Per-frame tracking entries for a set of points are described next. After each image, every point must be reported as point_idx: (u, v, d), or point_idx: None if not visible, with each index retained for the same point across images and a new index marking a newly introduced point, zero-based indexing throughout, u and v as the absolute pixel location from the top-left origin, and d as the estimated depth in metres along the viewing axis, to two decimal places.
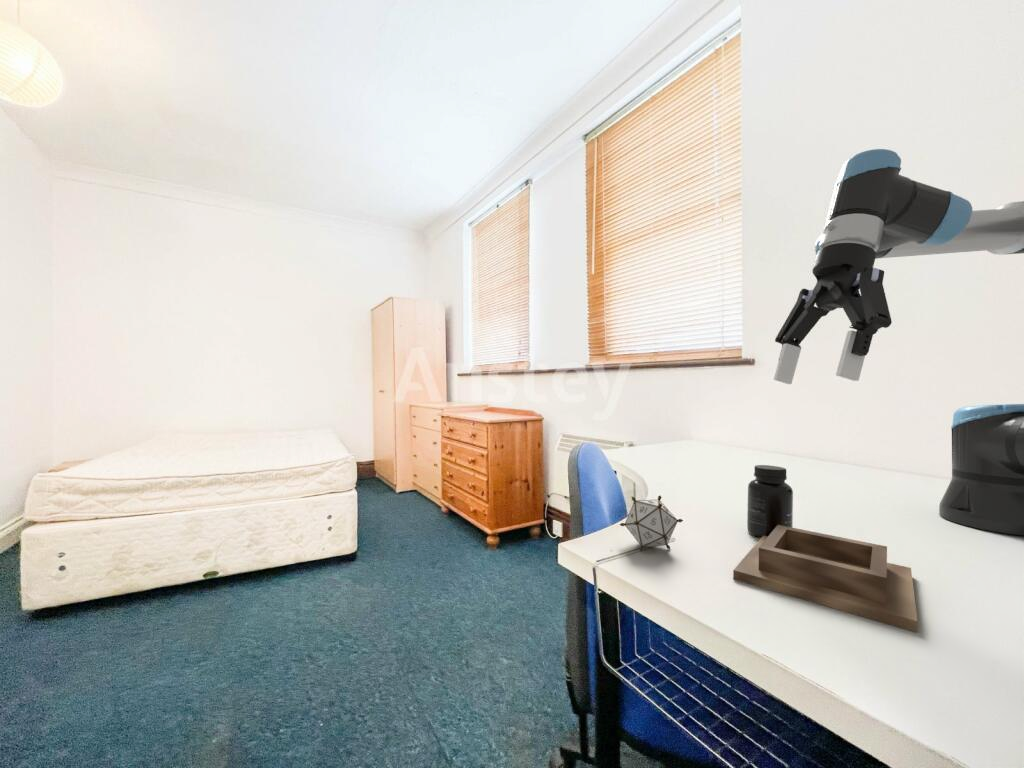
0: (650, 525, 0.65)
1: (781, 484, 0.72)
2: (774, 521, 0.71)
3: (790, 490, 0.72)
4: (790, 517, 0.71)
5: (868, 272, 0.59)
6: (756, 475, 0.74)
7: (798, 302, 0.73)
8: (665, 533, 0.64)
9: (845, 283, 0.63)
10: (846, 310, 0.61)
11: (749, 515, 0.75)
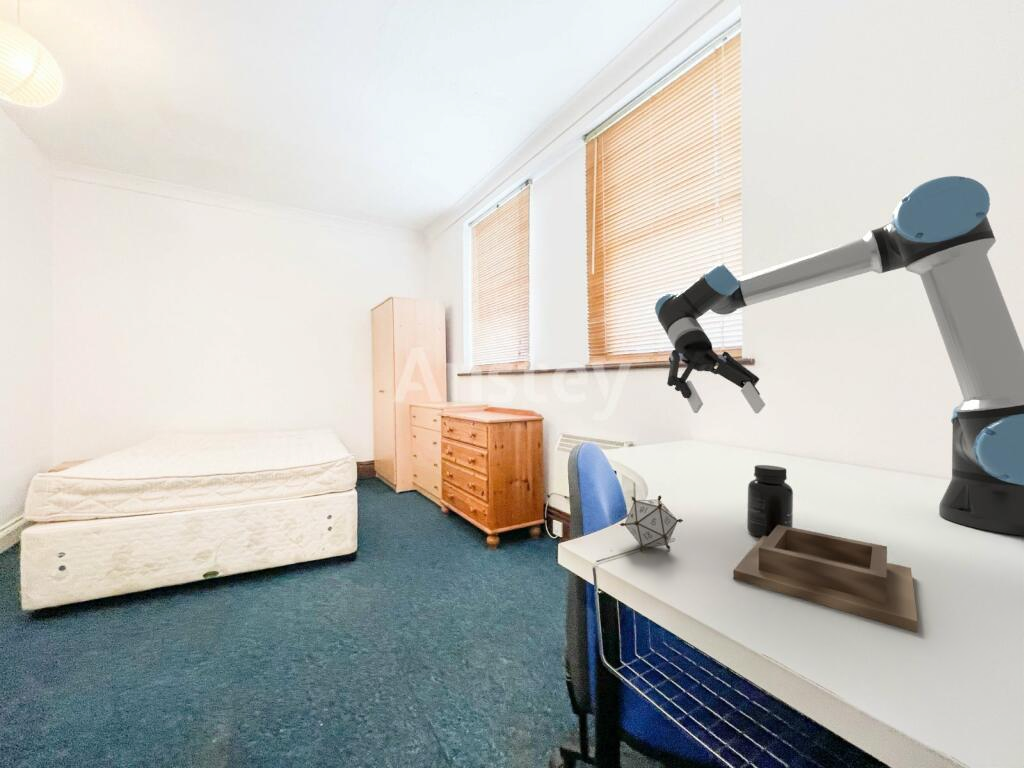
0: (650, 526, 0.65)
1: (781, 484, 0.72)
2: (774, 521, 0.71)
3: (790, 490, 0.72)
4: (790, 517, 0.71)
5: (670, 360, 0.95)
6: (756, 475, 0.74)
7: None
8: (665, 533, 0.64)
9: None
10: None
11: (749, 515, 0.75)
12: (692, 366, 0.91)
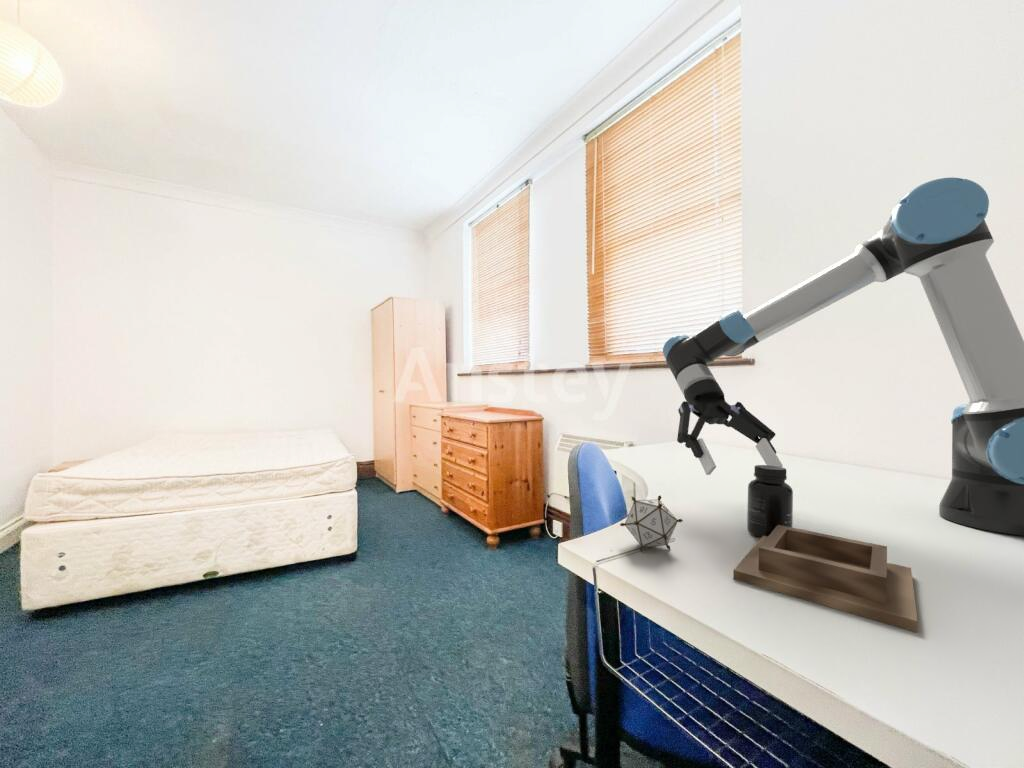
0: (650, 525, 0.65)
1: (781, 484, 0.72)
2: (774, 521, 0.71)
3: (790, 490, 0.72)
4: (790, 517, 0.71)
5: (679, 412, 0.90)
6: (756, 475, 0.74)
7: None
8: (665, 533, 0.64)
9: None
10: None
11: (749, 515, 0.75)
12: (703, 420, 0.86)
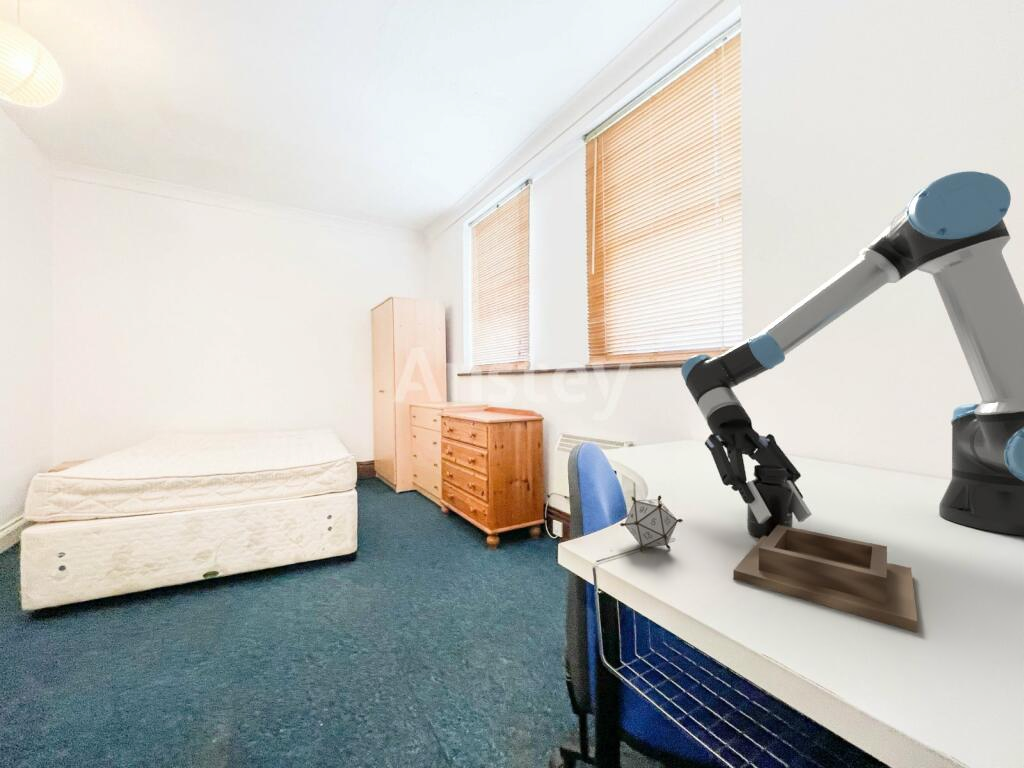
0: (650, 525, 0.65)
1: (781, 484, 0.72)
2: (774, 520, 0.71)
3: (790, 490, 0.72)
4: (790, 517, 0.71)
5: (708, 446, 0.81)
6: (756, 475, 0.74)
7: (767, 451, 0.83)
8: (665, 533, 0.64)
9: None
10: None
11: (749, 515, 0.75)
12: (740, 455, 0.78)
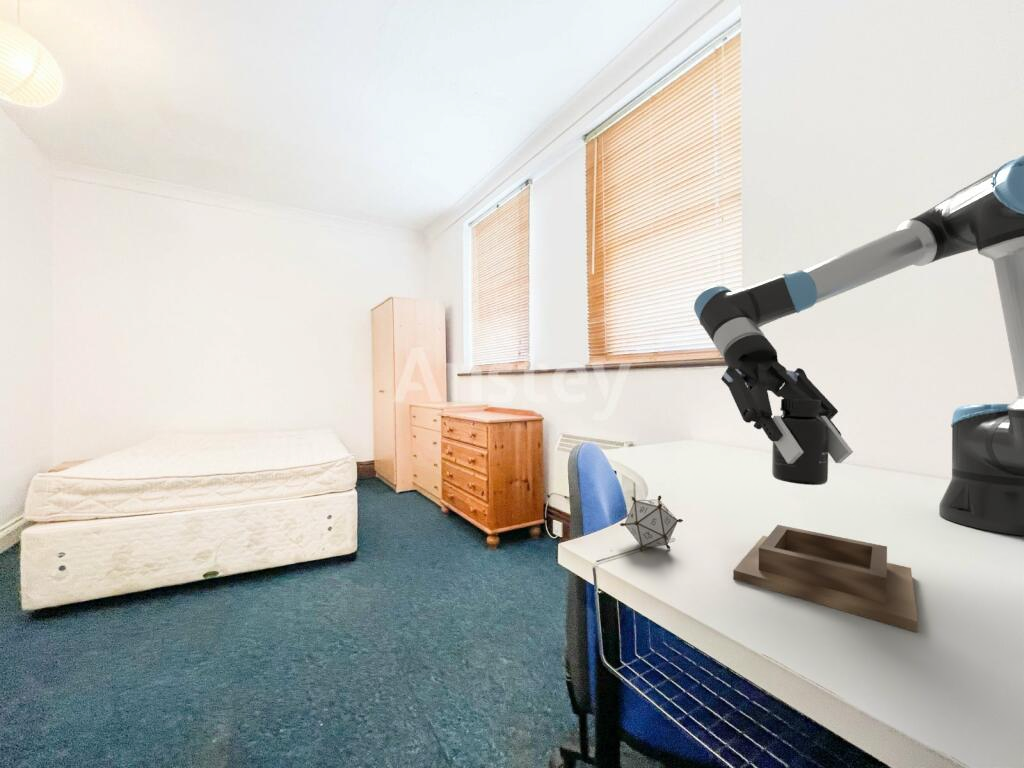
0: (650, 526, 0.65)
1: (814, 418, 0.60)
2: (806, 460, 0.59)
3: (825, 424, 0.59)
4: (825, 456, 0.59)
5: (725, 381, 0.69)
6: (783, 409, 0.62)
7: None
8: (665, 533, 0.64)
9: None
10: None
11: (775, 457, 0.62)
12: (764, 389, 0.66)
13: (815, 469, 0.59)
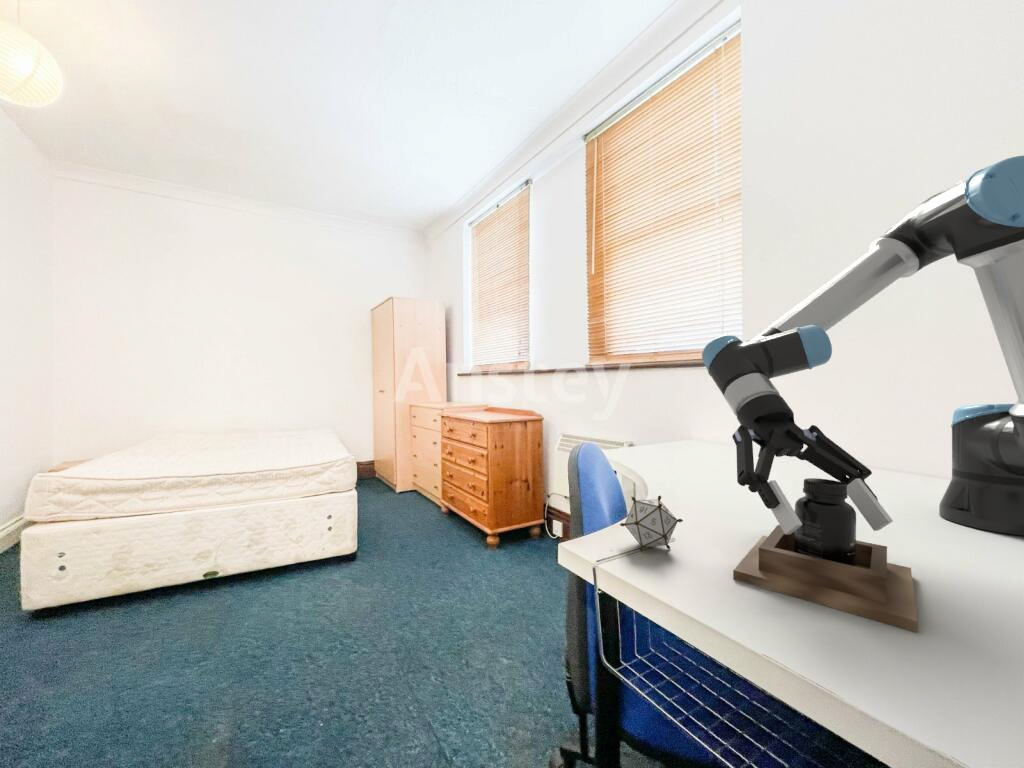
0: (650, 525, 0.65)
1: (842, 505, 0.56)
2: (834, 552, 0.55)
3: (853, 512, 0.55)
4: (854, 547, 0.55)
5: (735, 439, 0.66)
6: (807, 492, 0.58)
7: None
8: (665, 533, 0.64)
9: None
10: None
11: (798, 543, 0.58)
12: (772, 453, 0.62)
13: (844, 561, 0.54)
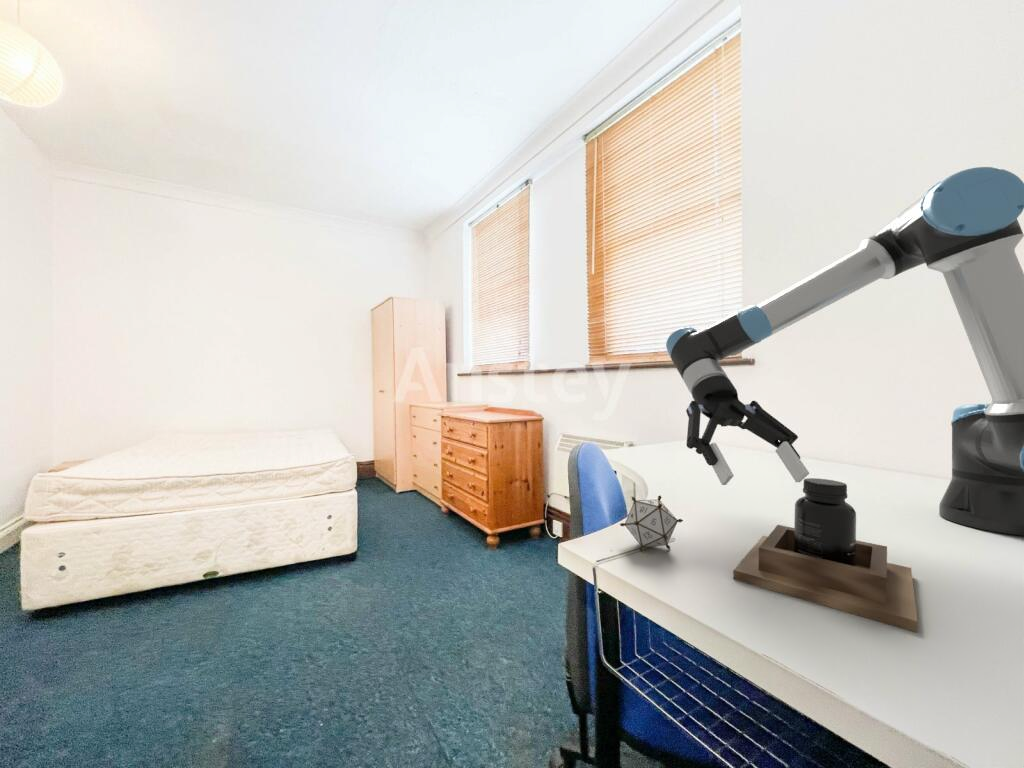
0: (650, 526, 0.65)
1: (841, 505, 0.56)
2: (834, 552, 0.55)
3: (853, 512, 0.55)
4: (854, 547, 0.55)
5: (687, 413, 0.79)
6: (807, 492, 0.58)
7: None
8: (665, 533, 0.64)
9: None
10: None
11: (798, 543, 0.58)
12: (716, 422, 0.75)
13: (844, 561, 0.54)
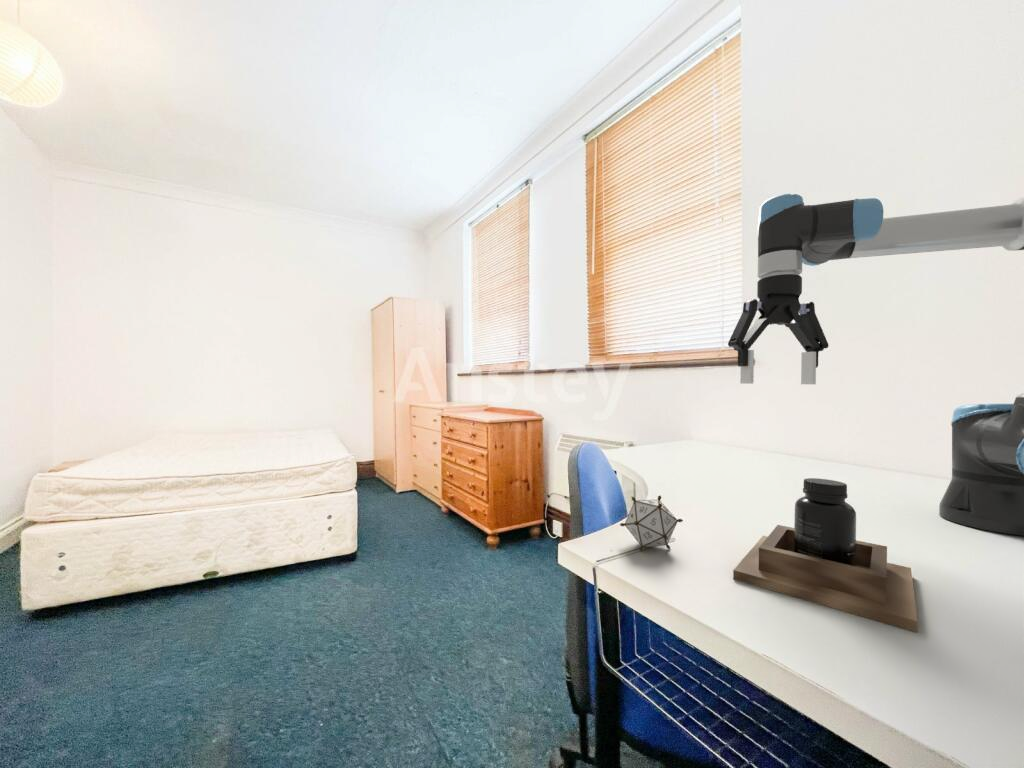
0: (650, 525, 0.65)
1: (841, 505, 0.56)
2: (834, 552, 0.55)
3: (853, 512, 0.55)
4: (854, 547, 0.55)
5: (744, 306, 0.84)
6: (807, 492, 0.58)
7: None
8: (665, 533, 0.64)
9: None
10: None
11: (798, 543, 0.58)
12: (764, 327, 0.82)
13: (844, 561, 0.54)
